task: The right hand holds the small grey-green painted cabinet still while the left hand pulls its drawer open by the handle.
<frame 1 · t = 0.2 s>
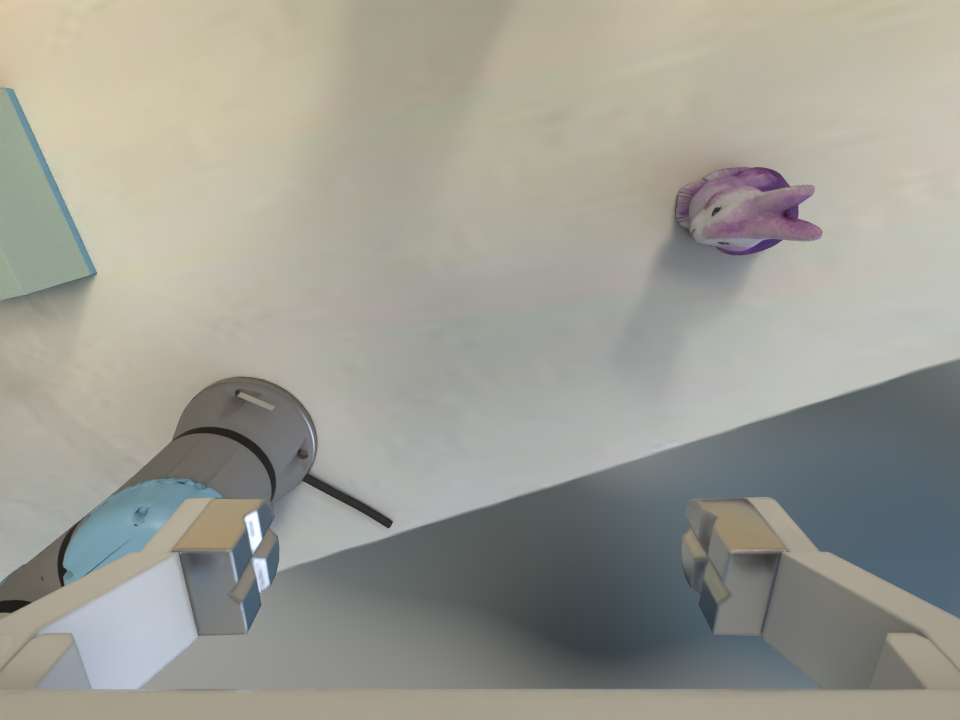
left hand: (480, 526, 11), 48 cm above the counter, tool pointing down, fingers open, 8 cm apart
figurine: (717, 211, 55), on the counter
cabinet: (5, 198, 55), on the counter
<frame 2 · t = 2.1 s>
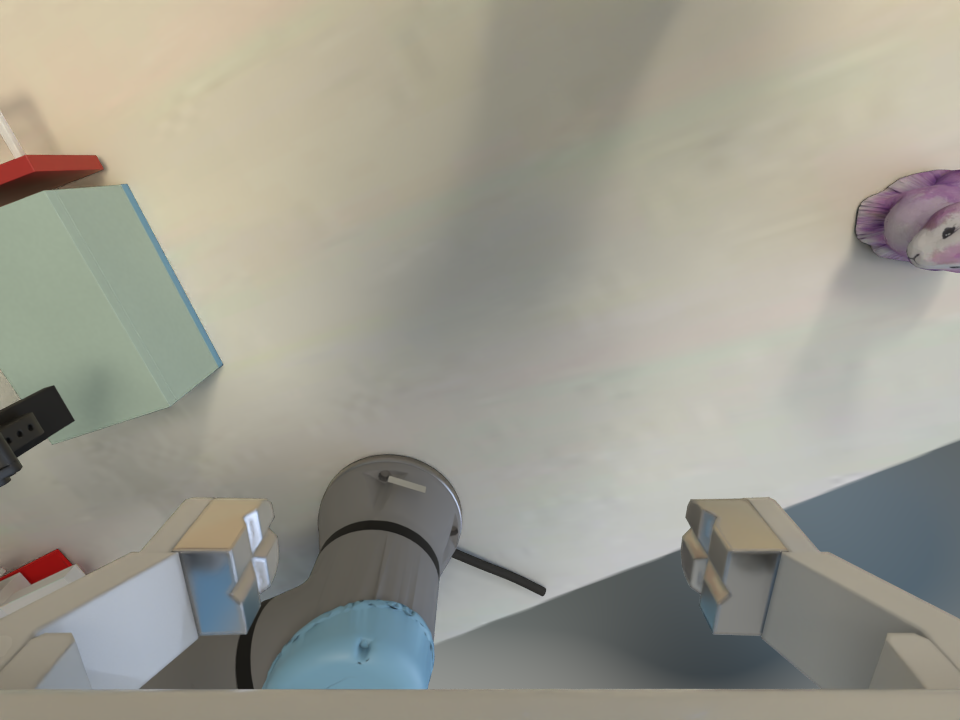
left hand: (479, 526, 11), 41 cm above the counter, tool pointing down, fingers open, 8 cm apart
drawer: (48, 241, 45), point 5 cm above the counter, slide at 1.5 cm
figurine: (903, 221, 49), on the counter
cabinet: (125, 298, 51), on the counter
toy: (8, 605, 64), on the counter
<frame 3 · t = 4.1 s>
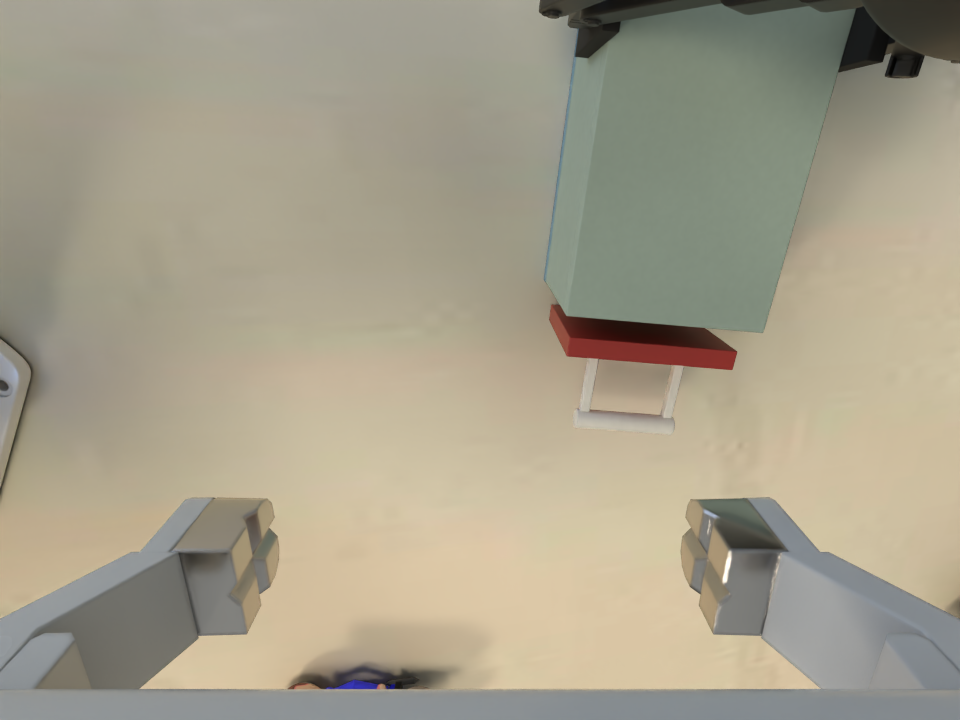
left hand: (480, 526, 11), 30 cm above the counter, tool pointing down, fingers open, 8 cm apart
drawer: (648, 261, 34), point 5 cm above the counter, slide at 1.5 cm
figurine character: (362, 686, 53), on the counter
cabinet: (644, 155, 36), on the counter, touching right hand
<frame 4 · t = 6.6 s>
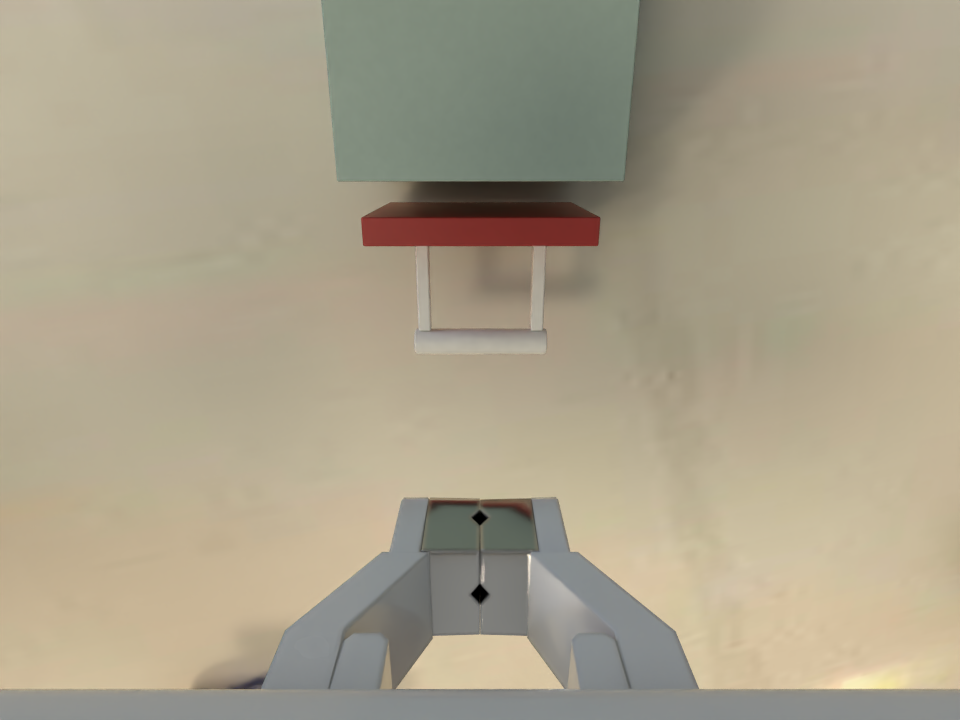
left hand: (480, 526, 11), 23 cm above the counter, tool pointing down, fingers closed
drawer: (480, 114, 25), point 5 cm above the counter, slide at 1.5 cm
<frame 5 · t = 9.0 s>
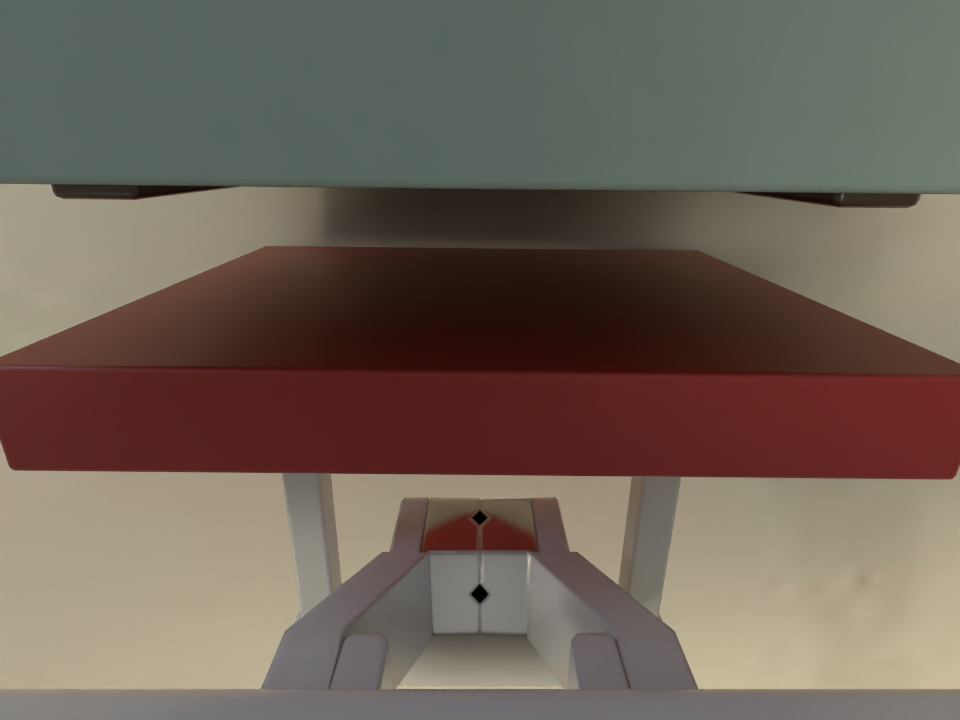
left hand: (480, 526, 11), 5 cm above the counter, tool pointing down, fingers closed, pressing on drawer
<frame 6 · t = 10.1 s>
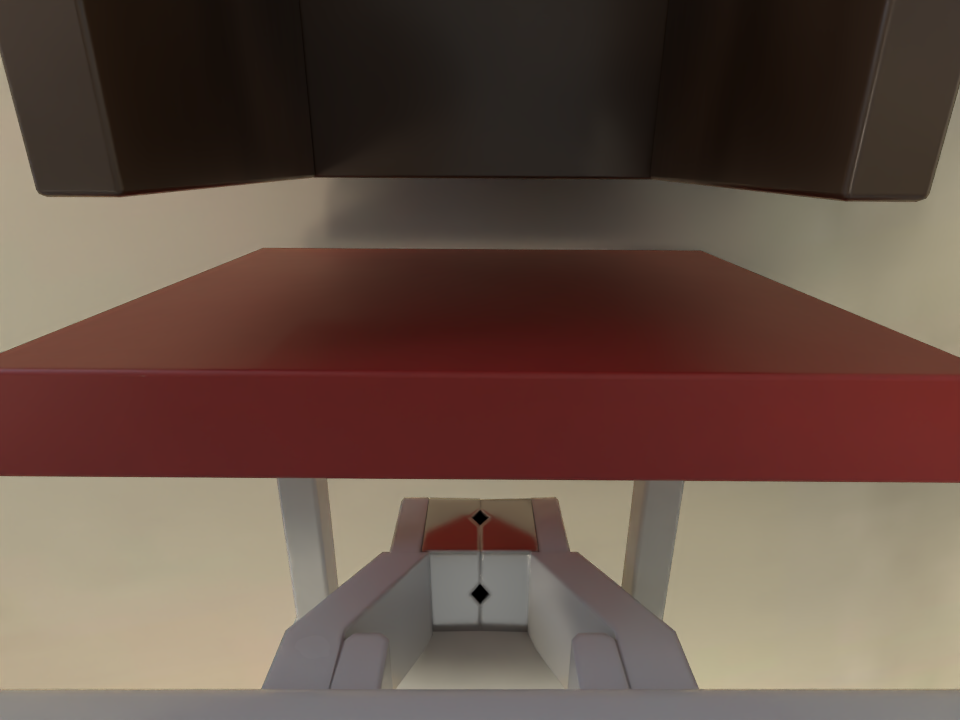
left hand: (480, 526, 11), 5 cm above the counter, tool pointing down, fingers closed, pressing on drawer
when the right hand's fingers open (5 cm above the counter, at t = 12.1 s): cabinet stays where it is, on the counter.
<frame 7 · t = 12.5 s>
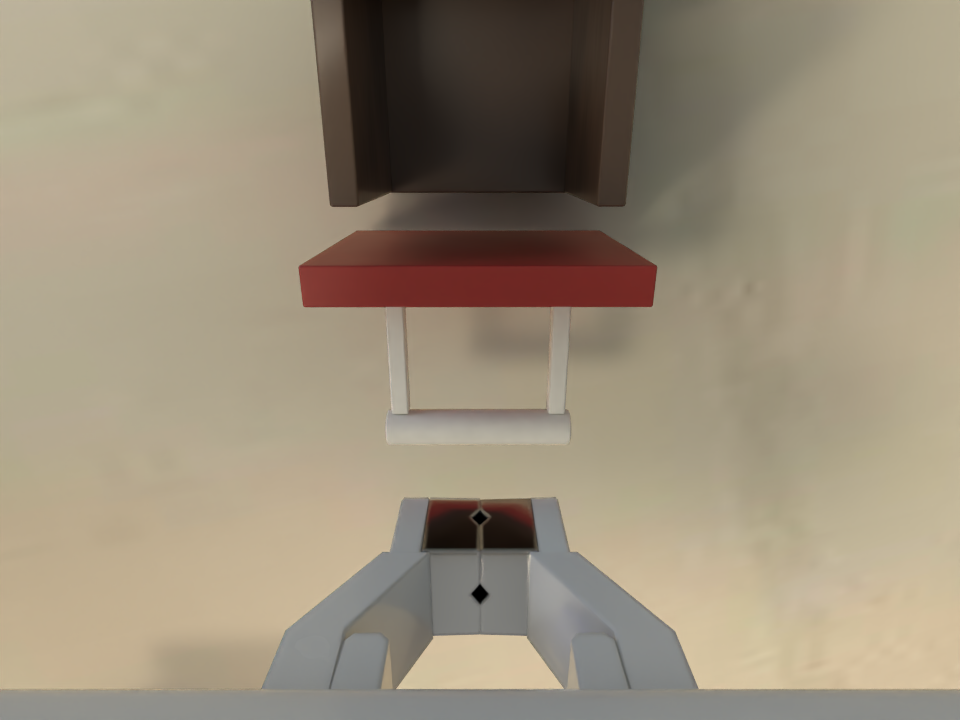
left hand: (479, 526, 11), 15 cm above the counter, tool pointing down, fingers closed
drawer: (477, 111, 17), point 5 cm above the counter, slide at 8.9 cm
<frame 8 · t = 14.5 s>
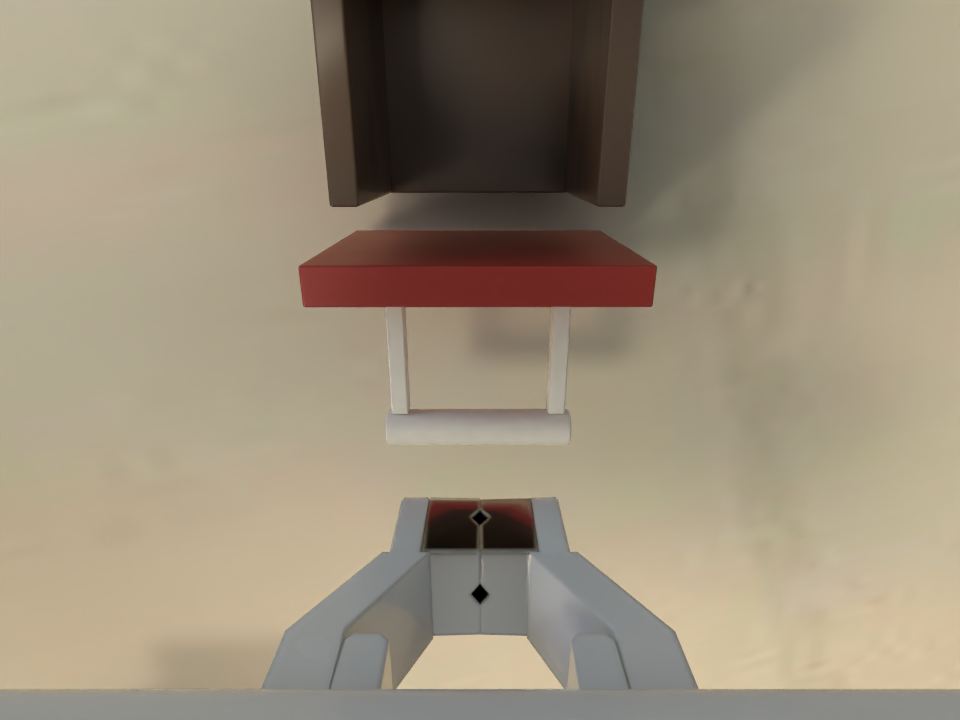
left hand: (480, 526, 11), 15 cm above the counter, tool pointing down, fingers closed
drawer: (477, 111, 17), point 5 cm above the counter, slide at 8.9 cm
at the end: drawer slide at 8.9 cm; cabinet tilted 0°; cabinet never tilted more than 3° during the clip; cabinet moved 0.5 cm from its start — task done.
